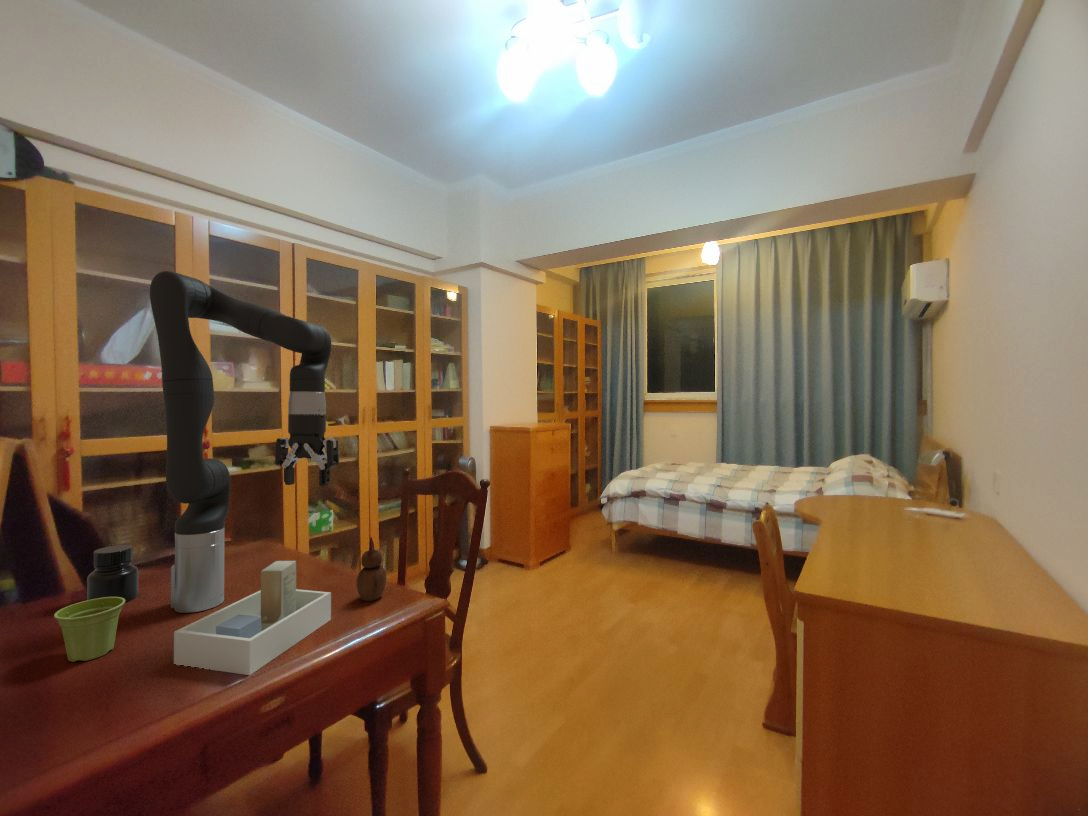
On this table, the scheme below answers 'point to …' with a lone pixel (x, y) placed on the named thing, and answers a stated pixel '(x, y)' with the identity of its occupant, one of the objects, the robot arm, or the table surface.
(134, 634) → the table surface
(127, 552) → the ink bottle
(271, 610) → the skincare box
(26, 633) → the table surface
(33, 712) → the table surface
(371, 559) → the wooden figurine
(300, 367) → the robot arm
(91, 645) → the plant pot
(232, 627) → the cube
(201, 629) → the tote
